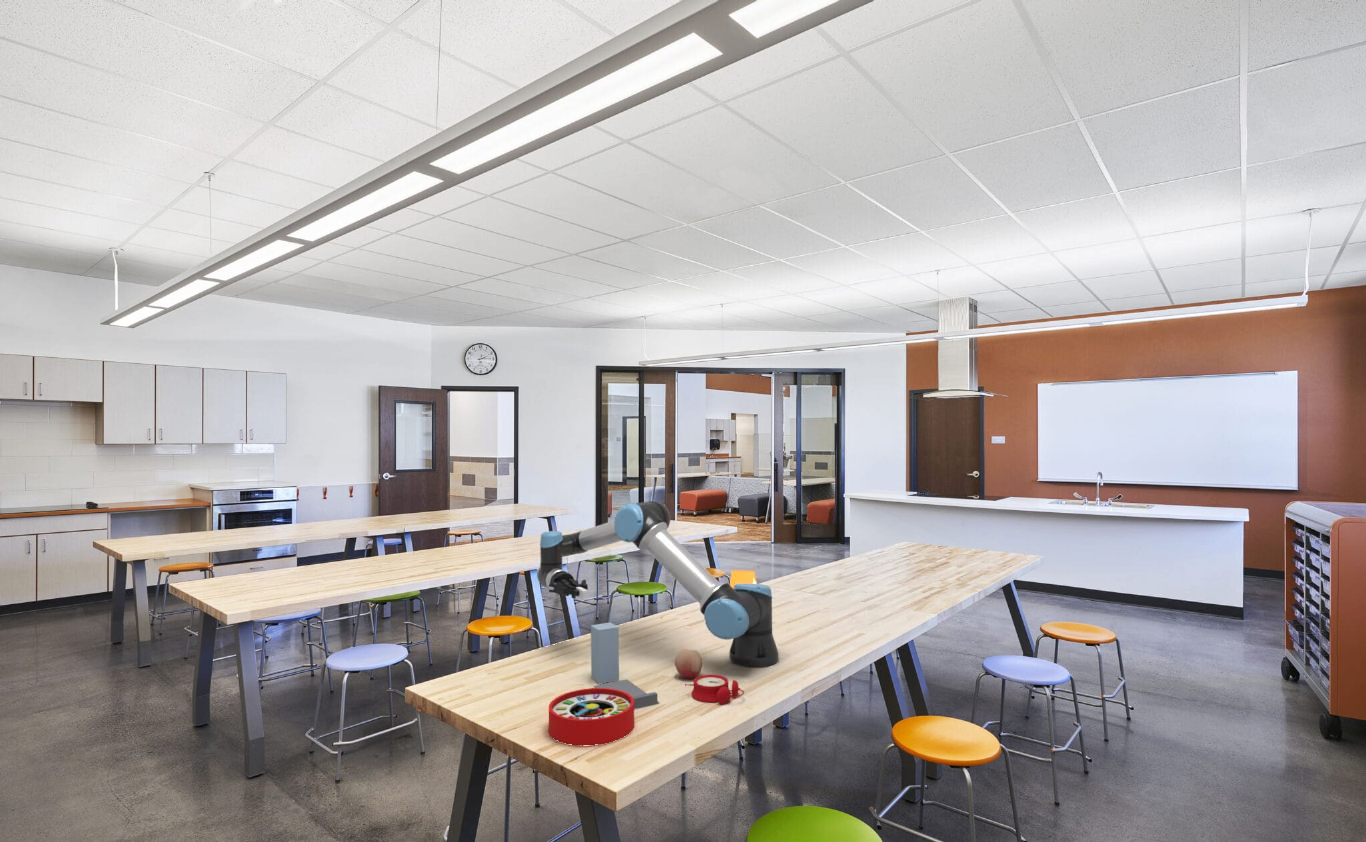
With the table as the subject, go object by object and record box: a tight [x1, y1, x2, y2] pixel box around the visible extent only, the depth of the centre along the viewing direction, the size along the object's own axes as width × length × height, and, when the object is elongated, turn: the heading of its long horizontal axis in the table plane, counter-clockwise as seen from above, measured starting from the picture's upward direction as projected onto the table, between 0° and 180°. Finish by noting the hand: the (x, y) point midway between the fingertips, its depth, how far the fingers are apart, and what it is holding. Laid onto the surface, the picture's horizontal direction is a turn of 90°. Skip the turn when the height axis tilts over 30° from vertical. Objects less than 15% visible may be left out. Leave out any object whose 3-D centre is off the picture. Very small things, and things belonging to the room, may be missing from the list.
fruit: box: [674, 648, 703, 680], centre depth 189 cm, size 8×8×8 cm
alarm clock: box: [684, 674, 745, 705], centre depth 173 cm, size 10×6×15 cm
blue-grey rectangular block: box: [590, 622, 620, 685], centre depth 188 cm, size 6×6×15 cm
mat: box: [593, 679, 660, 710], centre depth 175 cm, size 20×10×2 cm, turn 29°
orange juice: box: [729, 569, 758, 589], centre depth 244 cm, size 8×9×20 cm
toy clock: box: [548, 687, 635, 747], centre depth 155 cm, size 20×6×20 cm
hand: (585, 595), depth 201 cm, fingers closed
